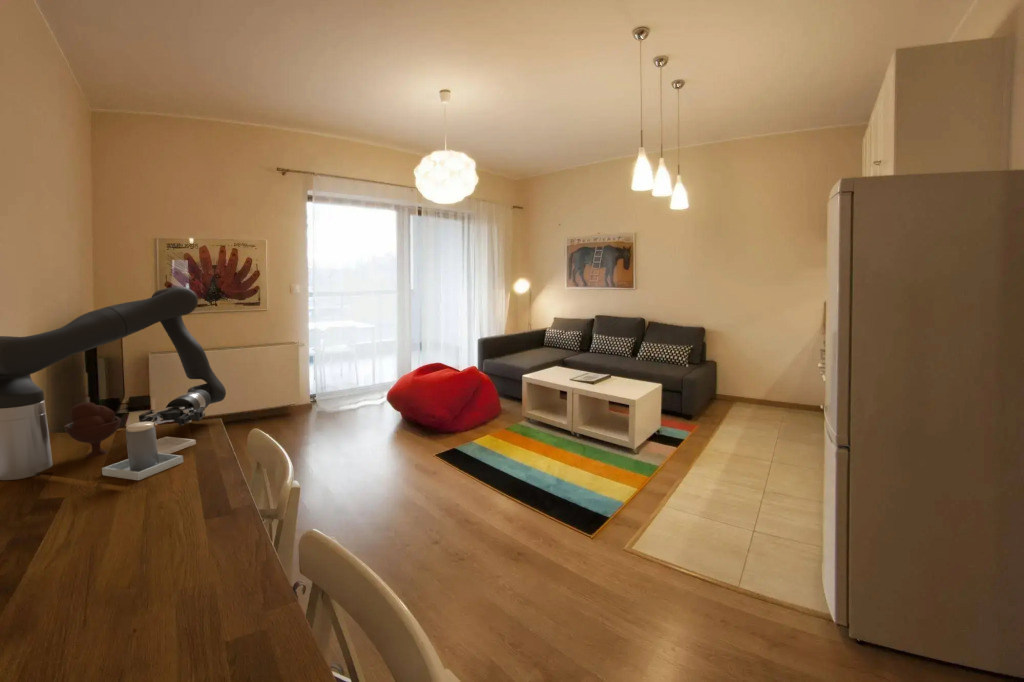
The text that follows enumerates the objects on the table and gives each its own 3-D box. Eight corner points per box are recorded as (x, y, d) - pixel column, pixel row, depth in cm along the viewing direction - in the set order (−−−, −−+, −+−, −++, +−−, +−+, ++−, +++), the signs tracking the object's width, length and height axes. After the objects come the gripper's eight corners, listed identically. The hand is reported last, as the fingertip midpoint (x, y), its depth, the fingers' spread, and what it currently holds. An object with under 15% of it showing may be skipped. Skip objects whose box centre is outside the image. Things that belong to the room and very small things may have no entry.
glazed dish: (102, 478, 107) (101, 468, 106) (150, 460, 117) (149, 451, 117) (138, 483, 104) (137, 473, 104) (183, 465, 115) (182, 455, 114)
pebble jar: (123, 471, 109) (118, 427, 107) (147, 462, 114) (143, 420, 113) (141, 473, 107) (137, 429, 106) (164, 464, 113) (160, 422, 111)
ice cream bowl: (99, 465, 114) (92, 407, 112) (56, 464, 115) (49, 406, 113) (134, 449, 125) (129, 396, 123) (95, 449, 125) (89, 396, 123)
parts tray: (129, 456, 120) (128, 449, 120) (167, 443, 130) (166, 436, 130) (159, 460, 118) (158, 453, 117) (196, 446, 128) (195, 439, 127)
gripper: (157, 396, 133) (127, 411, 117) (212, 393, 137) (191, 407, 121) (159, 420, 134) (130, 439, 118) (214, 417, 138) (193, 434, 122)
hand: (161, 423), depth 120 cm, fingers open, 8 cm apart
